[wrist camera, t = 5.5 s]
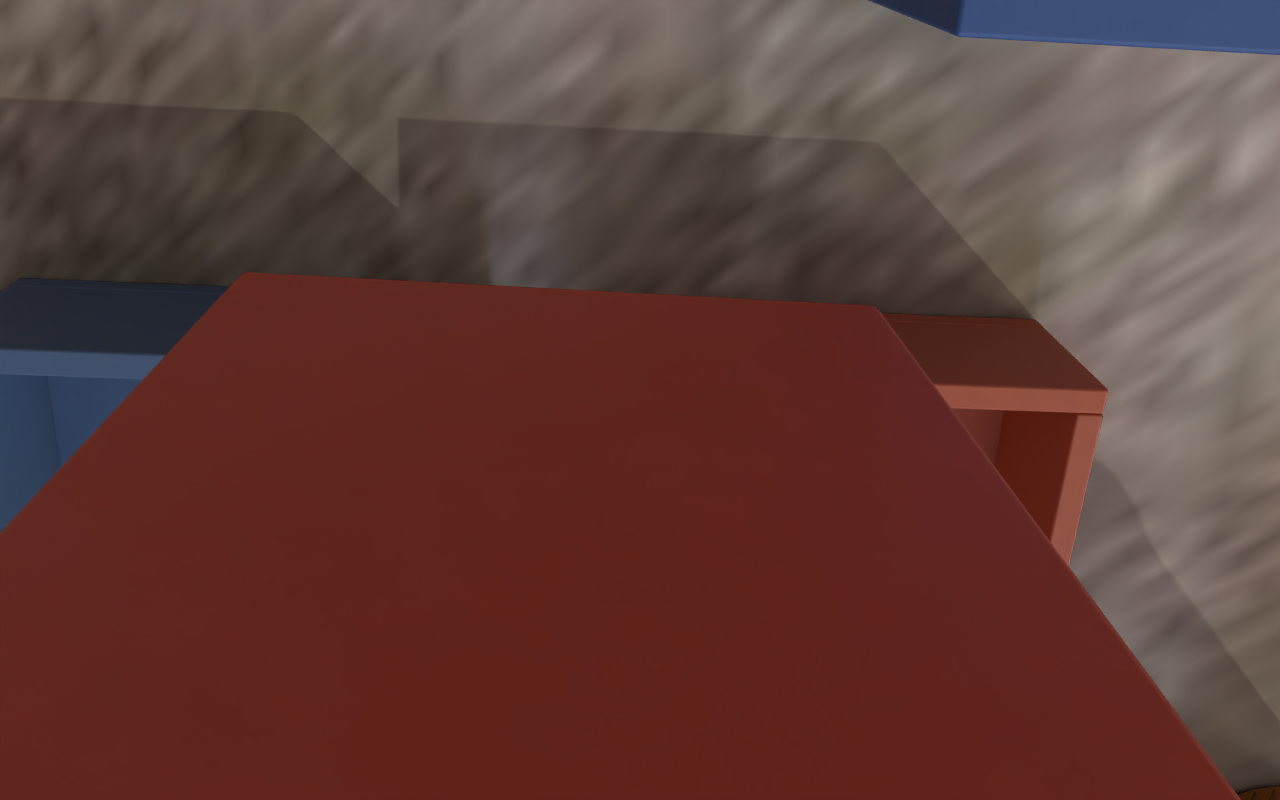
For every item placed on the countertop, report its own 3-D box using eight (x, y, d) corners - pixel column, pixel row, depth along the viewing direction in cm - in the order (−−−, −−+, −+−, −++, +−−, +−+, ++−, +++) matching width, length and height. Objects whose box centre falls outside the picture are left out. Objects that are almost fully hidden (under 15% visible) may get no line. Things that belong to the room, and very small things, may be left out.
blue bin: (18, 277, 29) (-79, 345, 24) (493, 296, 29) (478, 366, 25) (77, 669, 33) (3, 785, 29) (489, 678, 34) (476, 792, 29)
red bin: (588, 300, 29) (589, 369, 25) (1036, 318, 30) (1109, 389, 26) (571, 680, 34) (570, 793, 30) (963, 688, 35) (1016, 800, 30)
